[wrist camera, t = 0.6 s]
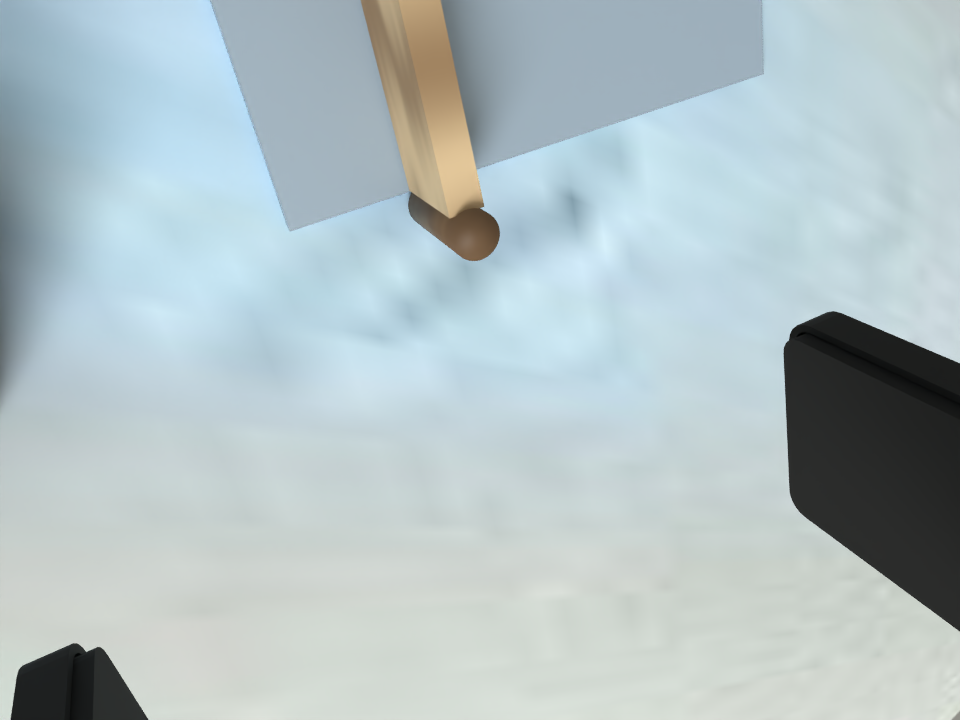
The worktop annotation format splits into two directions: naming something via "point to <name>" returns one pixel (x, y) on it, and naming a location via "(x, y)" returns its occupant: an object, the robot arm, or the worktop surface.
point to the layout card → (468, 81)
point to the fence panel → (430, 123)
